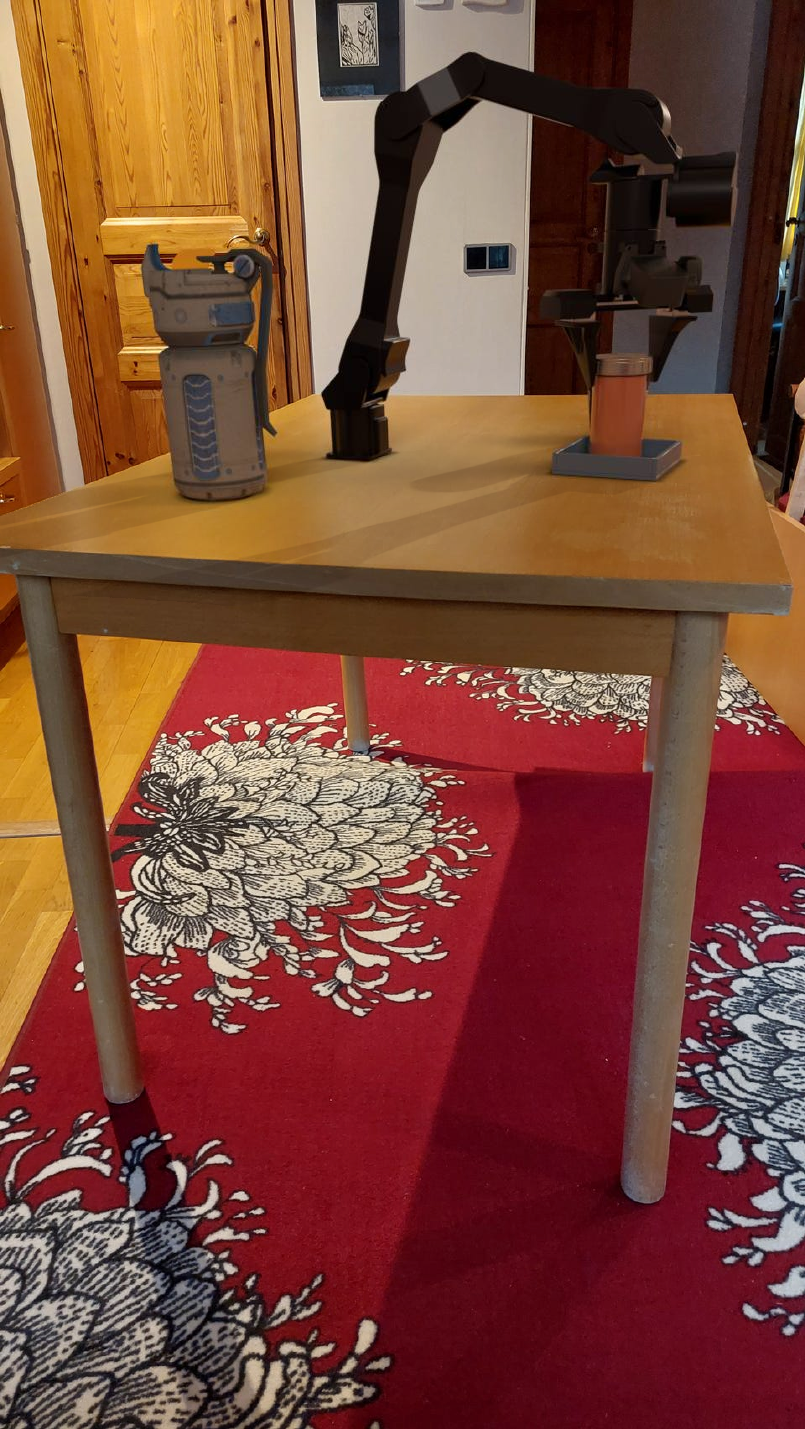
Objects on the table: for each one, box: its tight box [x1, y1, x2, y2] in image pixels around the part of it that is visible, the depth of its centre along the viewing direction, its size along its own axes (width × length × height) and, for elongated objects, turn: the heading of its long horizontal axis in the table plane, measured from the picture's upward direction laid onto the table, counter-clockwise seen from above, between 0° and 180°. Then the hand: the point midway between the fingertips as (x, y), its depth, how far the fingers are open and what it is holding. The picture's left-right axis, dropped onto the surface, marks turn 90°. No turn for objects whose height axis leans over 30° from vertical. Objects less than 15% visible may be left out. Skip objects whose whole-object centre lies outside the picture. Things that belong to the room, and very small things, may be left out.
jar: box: [589, 374, 647, 457], centre depth 112 cm, size 6×6×12 cm
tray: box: [551, 435, 683, 482], centre depth 114 cm, size 12×12×2 cm
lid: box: [596, 352, 653, 376], centre depth 110 cm, size 7×7×2 cm
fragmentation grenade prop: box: [140, 243, 278, 502], centre depth 103 cm, size 10×13×25 cm
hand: (622, 384), depth 111 cm, fingers open, 8 cm apart
